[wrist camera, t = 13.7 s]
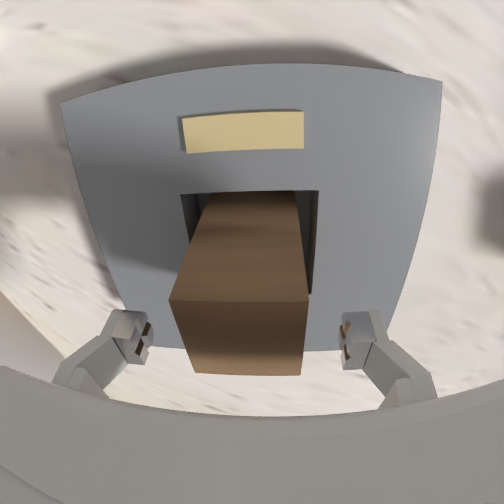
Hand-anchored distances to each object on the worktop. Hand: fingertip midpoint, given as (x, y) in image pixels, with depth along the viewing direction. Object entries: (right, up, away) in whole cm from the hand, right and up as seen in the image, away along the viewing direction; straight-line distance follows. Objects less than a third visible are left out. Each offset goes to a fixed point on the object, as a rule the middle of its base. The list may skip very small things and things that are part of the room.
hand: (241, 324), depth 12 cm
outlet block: (+1, +5, +7) cm, 9 cm away
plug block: (+1, +5, +6) cm, 8 cm away
